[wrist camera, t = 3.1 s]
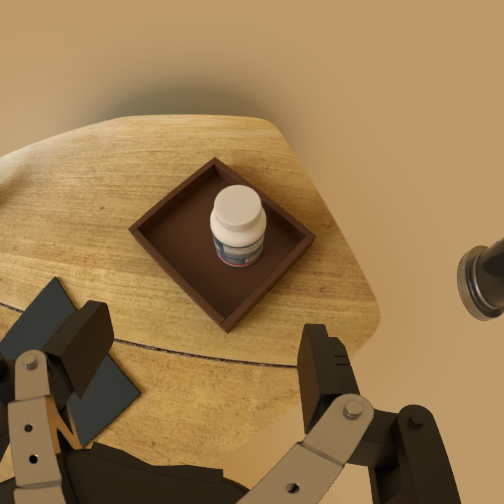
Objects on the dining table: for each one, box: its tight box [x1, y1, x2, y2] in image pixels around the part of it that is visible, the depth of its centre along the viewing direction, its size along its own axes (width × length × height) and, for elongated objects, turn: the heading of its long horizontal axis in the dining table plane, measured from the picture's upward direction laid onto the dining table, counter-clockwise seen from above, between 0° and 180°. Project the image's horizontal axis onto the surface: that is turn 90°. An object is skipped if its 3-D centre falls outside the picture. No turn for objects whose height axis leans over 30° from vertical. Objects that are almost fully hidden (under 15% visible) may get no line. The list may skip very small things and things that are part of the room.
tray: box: [128, 157, 316, 334], centre depth 32 cm, size 16×14×2 cm
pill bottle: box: [210, 185, 266, 267], centre depth 28 cm, size 5×5×9 cm
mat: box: [0, 277, 141, 448], centre depth 25 cm, size 18×20×1 cm
